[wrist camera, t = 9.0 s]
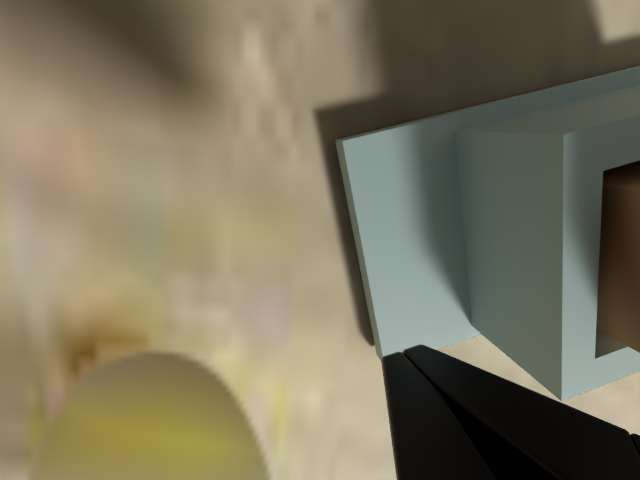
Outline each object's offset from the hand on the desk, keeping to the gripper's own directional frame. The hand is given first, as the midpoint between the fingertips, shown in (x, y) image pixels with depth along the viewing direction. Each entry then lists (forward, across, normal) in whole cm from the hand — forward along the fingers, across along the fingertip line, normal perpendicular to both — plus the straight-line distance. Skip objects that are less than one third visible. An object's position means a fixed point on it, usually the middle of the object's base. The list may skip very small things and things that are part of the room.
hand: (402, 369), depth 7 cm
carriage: (+6, -8, 0) cm, 10 cm away
